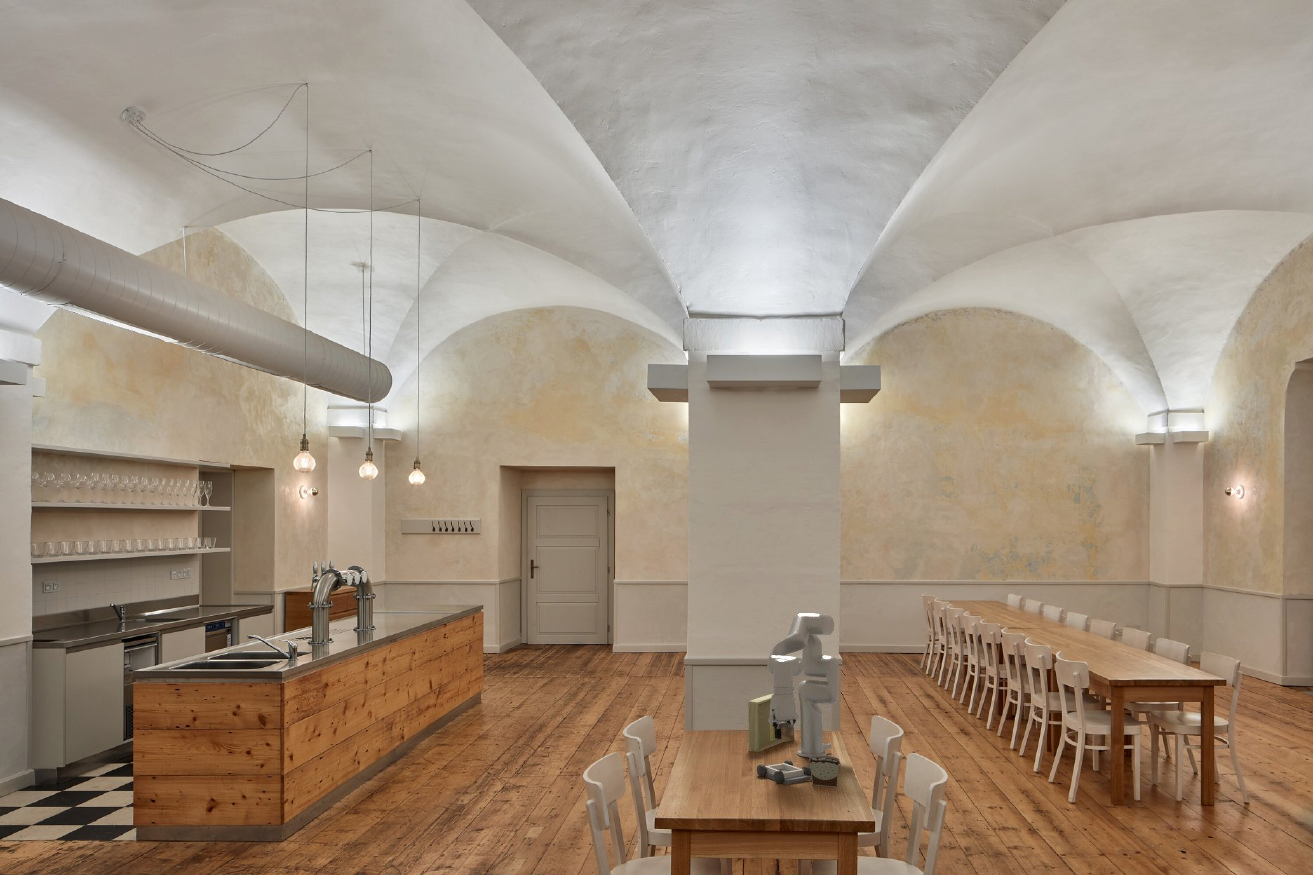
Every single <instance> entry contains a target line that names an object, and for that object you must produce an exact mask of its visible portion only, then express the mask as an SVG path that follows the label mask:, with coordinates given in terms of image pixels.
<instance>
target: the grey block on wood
mask: <svg viewBox="0 0 1313 875" xmlns="http://www.w3.org/2000/svg"><path fill="white" fill-rule="evenodd" d="M780 729H781V739H777V740H780V741H783V742H782V743H784V742H785V743H786V742H793V741H795V726H794V727H793V725H792V724H789V723H785V722H781V724H780ZM773 739H776V738H775V728H773Z"/></svg>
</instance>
